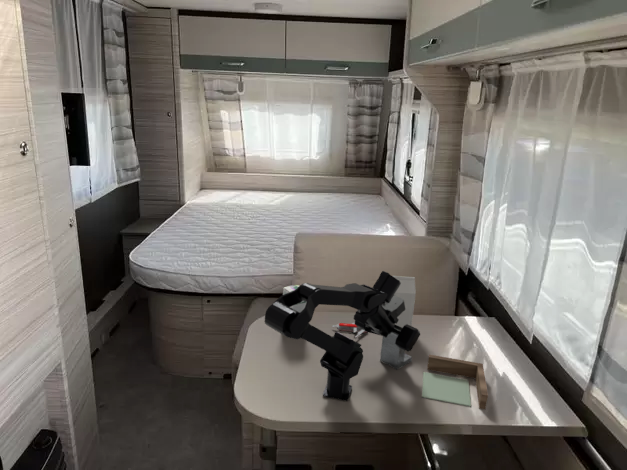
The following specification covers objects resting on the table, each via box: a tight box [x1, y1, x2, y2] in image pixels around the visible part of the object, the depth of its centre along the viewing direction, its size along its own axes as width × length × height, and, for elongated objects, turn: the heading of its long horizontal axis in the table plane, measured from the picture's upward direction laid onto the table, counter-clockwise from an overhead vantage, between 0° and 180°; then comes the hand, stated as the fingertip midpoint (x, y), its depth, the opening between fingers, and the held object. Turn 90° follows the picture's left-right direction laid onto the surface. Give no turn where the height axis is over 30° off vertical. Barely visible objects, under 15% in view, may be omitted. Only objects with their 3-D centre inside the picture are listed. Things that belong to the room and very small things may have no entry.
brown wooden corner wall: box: [426, 354, 489, 410], centre depth 128 cm, size 16×14×4 cm
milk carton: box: [392, 275, 417, 328], centre depth 155 cm, size 7×7×19 cm
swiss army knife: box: [331, 322, 368, 338], centre depth 156 cm, size 12×14×2 cm
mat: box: [421, 371, 472, 407], centre depth 127 cm, size 12×12×1 cm
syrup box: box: [282, 284, 307, 312], centre depth 152 cm, size 6×6×14 cm
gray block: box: [379, 333, 413, 370], centre depth 138 cm, size 7×6×10 cm
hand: (396, 340), depth 137 cm, fingers open, 9 cm apart
